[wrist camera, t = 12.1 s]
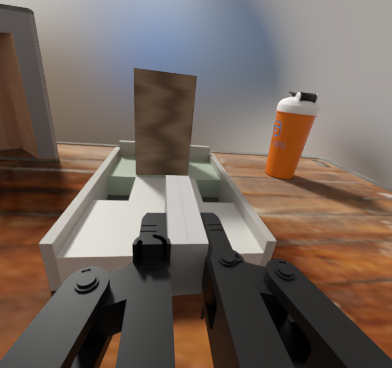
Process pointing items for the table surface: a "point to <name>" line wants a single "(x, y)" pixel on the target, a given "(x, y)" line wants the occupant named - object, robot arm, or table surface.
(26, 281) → the table surface
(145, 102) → the walnut block
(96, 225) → the box
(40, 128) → the cabinet
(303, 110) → the shaker bottle
